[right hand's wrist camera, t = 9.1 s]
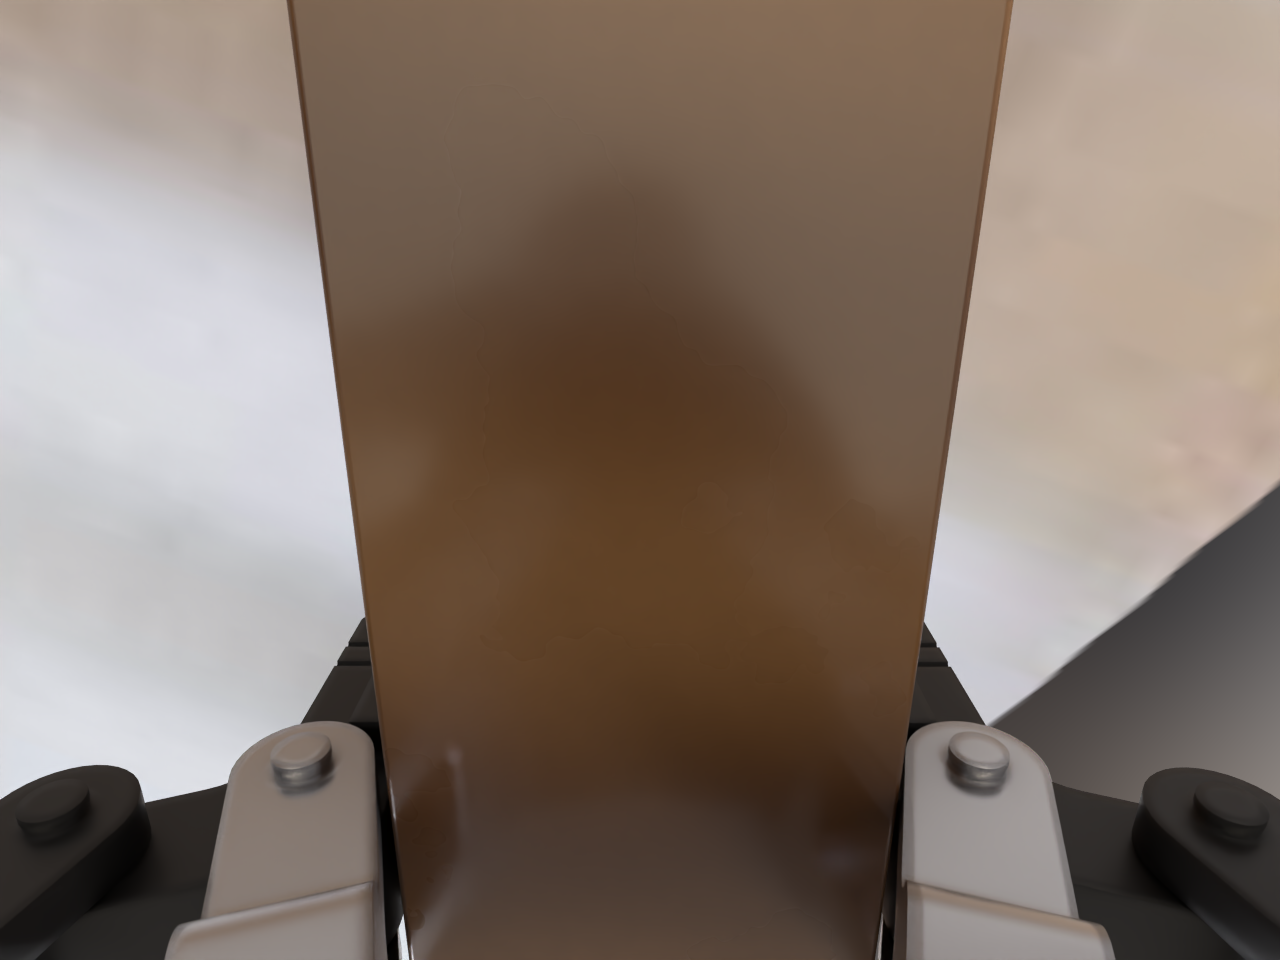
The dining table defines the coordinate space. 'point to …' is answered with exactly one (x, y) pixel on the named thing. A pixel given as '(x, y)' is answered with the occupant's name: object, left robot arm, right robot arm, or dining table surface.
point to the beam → (646, 444)
